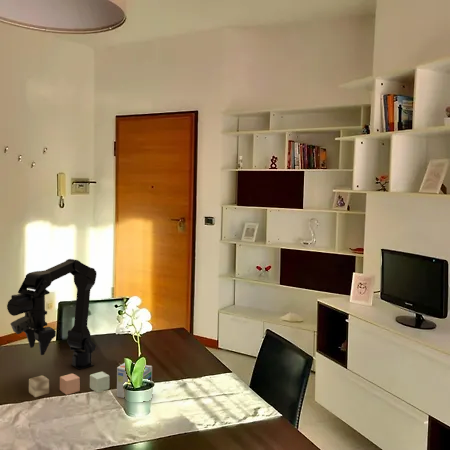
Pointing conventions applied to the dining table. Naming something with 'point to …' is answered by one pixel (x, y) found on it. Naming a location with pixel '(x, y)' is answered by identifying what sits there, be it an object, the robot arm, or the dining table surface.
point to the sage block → (99, 381)
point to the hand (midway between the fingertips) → (37, 351)
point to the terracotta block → (69, 384)
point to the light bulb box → (123, 377)
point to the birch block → (38, 386)
